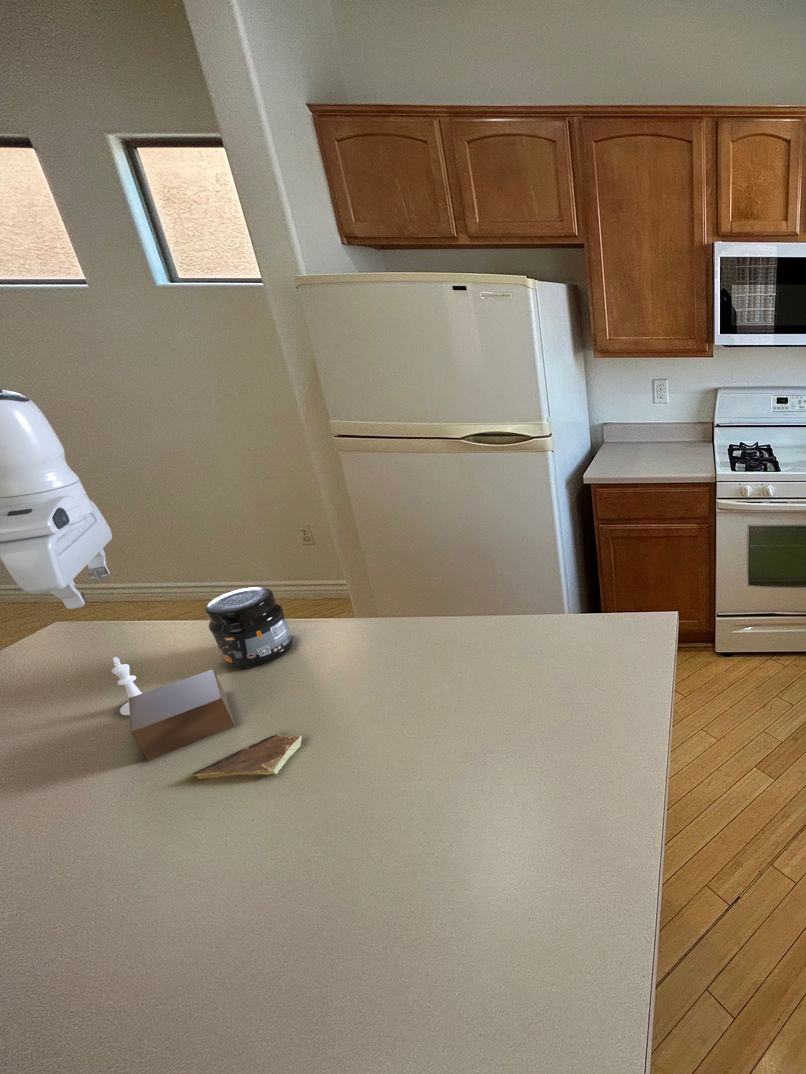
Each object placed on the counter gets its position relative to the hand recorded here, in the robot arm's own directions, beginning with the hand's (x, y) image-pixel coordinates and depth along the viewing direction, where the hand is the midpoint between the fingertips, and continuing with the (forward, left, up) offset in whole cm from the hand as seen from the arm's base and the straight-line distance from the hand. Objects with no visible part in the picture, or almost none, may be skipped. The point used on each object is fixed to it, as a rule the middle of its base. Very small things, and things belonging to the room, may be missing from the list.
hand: (90, 591), depth 83 cm
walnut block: (+7, -11, -21) cm, 25 cm away
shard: (+17, -26, -22) cm, 38 cm away
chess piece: (-1, -1, -21) cm, 21 cm away
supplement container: (+14, +7, -21) cm, 27 cm away
